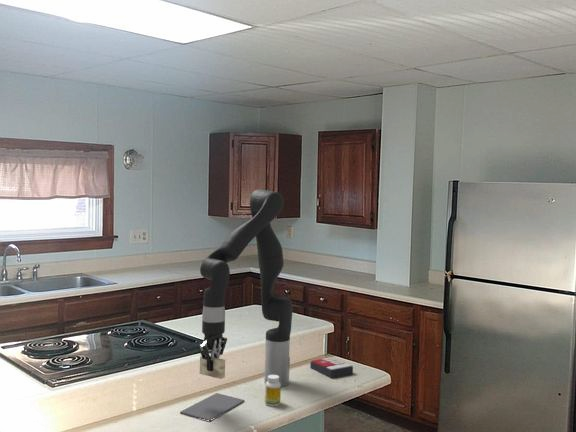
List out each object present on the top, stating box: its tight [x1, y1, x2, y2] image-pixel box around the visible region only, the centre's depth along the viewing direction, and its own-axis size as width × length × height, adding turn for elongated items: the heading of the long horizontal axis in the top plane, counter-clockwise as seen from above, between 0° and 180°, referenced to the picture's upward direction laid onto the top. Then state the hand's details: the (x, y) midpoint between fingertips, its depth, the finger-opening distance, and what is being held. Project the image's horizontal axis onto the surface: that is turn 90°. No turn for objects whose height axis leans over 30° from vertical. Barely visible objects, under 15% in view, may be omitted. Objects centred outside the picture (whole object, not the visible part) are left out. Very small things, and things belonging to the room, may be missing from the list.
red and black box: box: [310, 356, 354, 380], centre depth 233 cm, size 11×4×15 cm
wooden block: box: [199, 355, 226, 380], centre depth 190 cm, size 9×2×6 cm, turn 61°
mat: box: [179, 392, 245, 422], centre depth 192 cm, size 20×12×1 cm, turn 151°
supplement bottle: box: [264, 375, 282, 407], centre depth 197 cm, size 5×5×10 cm
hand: (212, 369), depth 190 cm, fingers closed on wooden block, 2 cm apart
